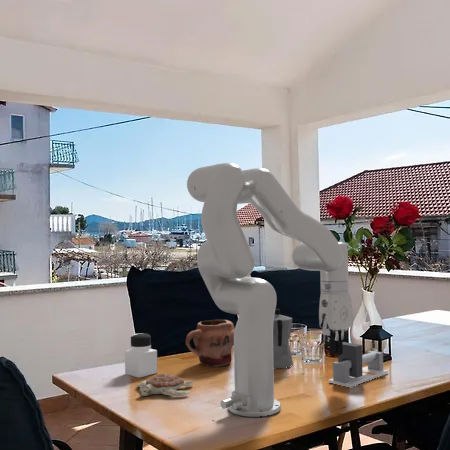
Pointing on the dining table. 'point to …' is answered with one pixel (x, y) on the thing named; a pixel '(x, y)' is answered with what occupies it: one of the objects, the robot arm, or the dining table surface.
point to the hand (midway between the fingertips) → (336, 354)
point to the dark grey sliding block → (352, 358)
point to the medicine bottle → (140, 357)
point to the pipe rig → (369, 371)
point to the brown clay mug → (212, 342)
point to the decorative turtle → (163, 385)
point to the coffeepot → (281, 341)
